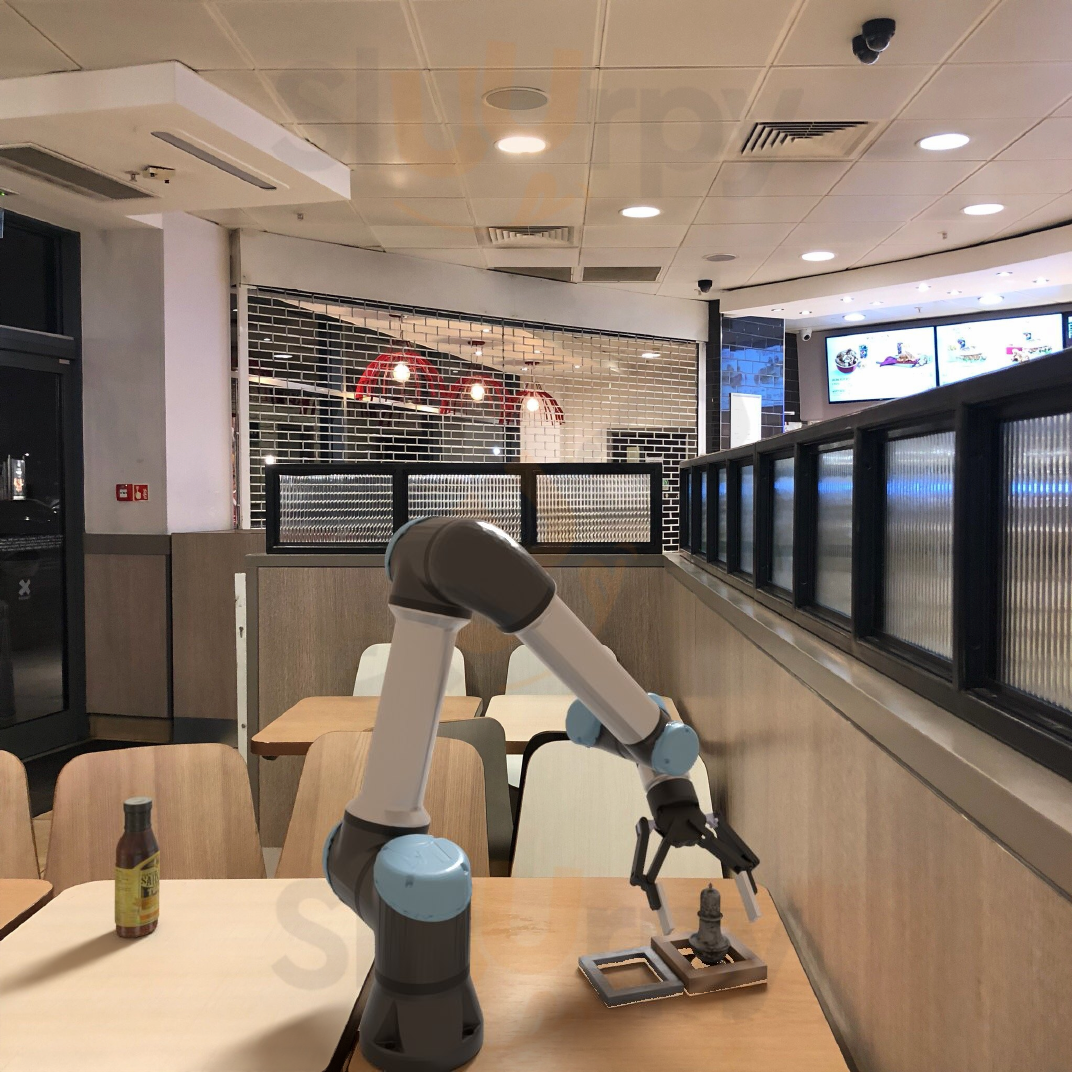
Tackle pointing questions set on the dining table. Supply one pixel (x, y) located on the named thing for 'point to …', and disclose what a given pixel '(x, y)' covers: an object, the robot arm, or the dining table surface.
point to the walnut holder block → (711, 977)
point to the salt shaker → (709, 930)
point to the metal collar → (634, 993)
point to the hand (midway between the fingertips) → (713, 926)
